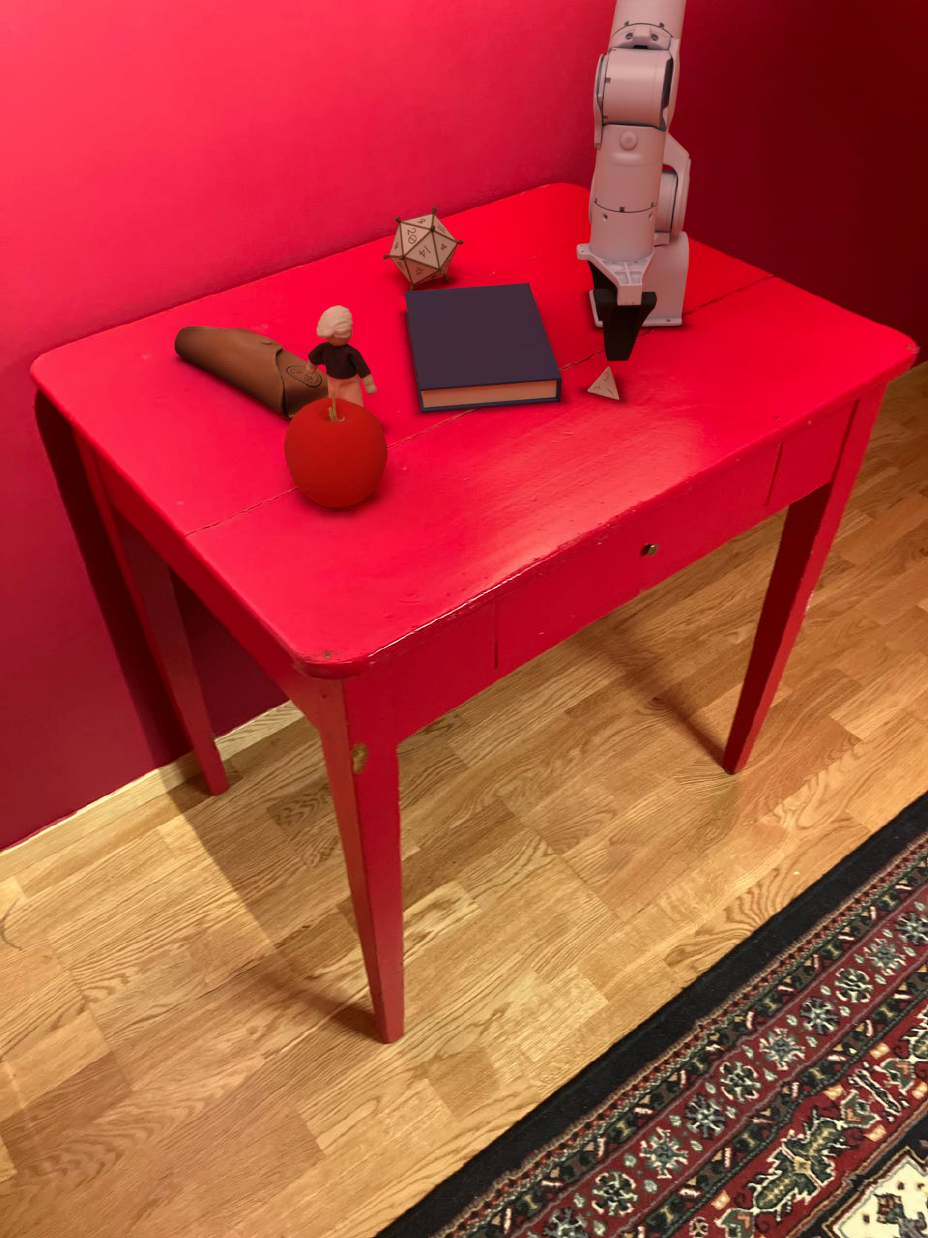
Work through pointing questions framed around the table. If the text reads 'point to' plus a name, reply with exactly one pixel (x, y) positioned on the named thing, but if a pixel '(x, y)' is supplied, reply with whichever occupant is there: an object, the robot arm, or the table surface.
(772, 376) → the table surface
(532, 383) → the book
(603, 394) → the tetrahedral die
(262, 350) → the sunglasses case
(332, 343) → the grandmother figurine
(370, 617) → the table surface
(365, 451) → the fruit
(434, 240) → the game die
